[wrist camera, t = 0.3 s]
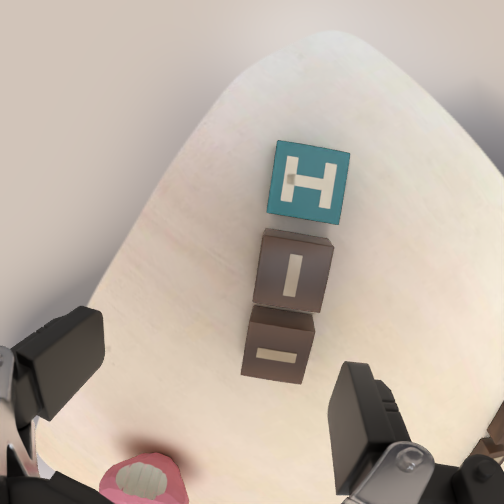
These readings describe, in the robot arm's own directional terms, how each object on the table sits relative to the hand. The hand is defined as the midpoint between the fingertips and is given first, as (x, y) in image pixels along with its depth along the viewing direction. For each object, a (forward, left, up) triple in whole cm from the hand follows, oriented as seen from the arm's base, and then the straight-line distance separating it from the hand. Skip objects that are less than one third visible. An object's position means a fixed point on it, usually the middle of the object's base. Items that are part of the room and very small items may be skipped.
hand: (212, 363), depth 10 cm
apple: (+26, -7, -15) cm, 31 cm away
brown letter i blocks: (+3, +3, -14) cm, 15 cm away
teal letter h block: (-6, +3, -15) cm, 16 cm away
